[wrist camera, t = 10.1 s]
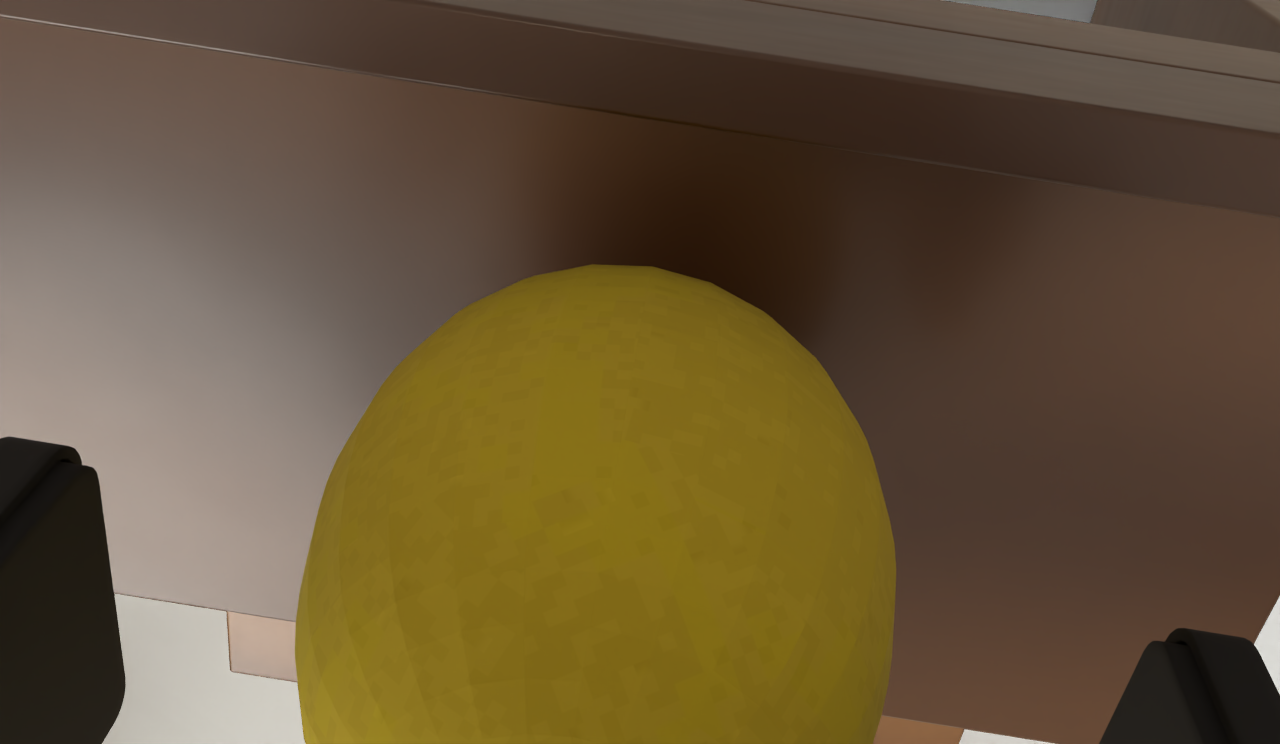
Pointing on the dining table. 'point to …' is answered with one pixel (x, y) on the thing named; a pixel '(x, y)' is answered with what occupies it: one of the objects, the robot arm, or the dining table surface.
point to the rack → (692, 246)
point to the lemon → (600, 533)
